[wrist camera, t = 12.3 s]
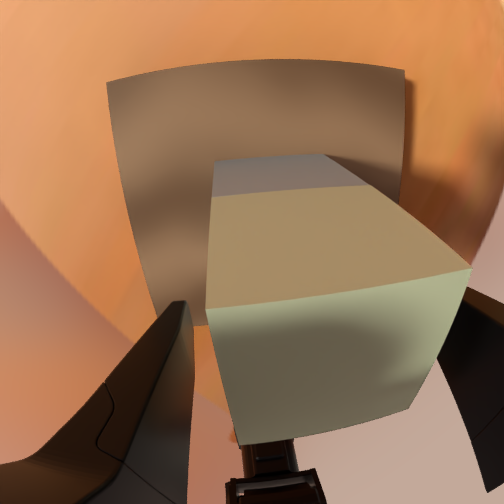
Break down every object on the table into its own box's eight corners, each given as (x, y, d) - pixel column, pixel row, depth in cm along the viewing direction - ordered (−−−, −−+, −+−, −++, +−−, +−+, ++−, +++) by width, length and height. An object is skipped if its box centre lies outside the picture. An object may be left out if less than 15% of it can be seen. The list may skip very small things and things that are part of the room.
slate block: (320, 247, 16) (354, 307, 12) (225, 257, 16) (229, 324, 11) (322, 153, 13) (370, 185, 9) (214, 161, 13) (211, 197, 9)
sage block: (355, 307, 12) (408, 408, 7) (229, 324, 11) (239, 445, 7) (370, 185, 9) (472, 268, 5) (211, 197, 9) (205, 309, 4)
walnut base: (369, 283, 20) (380, 301, 18) (165, 307, 19) (161, 328, 18) (385, 70, 13) (404, 70, 11) (119, 83, 12) (106, 82, 11)
